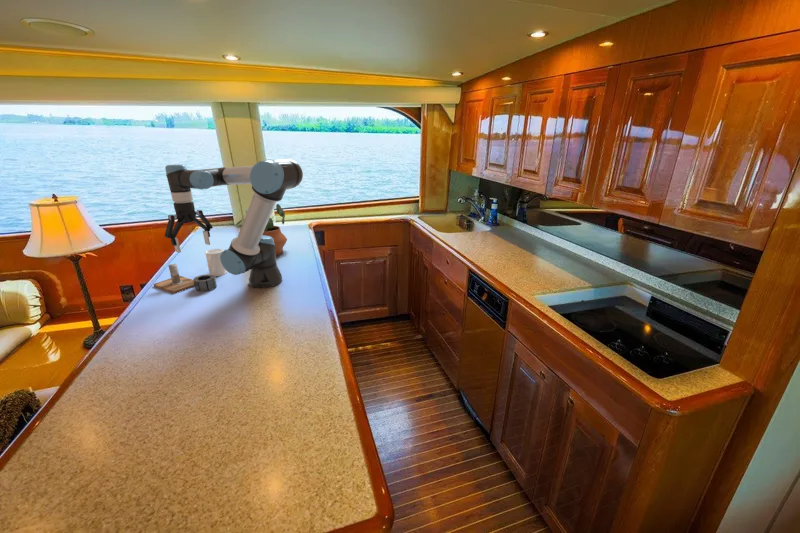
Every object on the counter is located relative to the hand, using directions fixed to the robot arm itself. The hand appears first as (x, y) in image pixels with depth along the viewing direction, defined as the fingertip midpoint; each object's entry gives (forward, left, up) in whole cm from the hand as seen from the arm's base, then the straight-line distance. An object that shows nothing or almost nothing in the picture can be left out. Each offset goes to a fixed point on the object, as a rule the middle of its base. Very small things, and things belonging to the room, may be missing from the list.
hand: (193, 248), depth 153 cm
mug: (+5, -12, -18) cm, 22 cm away
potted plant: (+11, -48, -18) cm, 52 cm away
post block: (+8, +6, -18) cm, 21 cm away
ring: (-6, +1, -18) cm, 19 cm away
